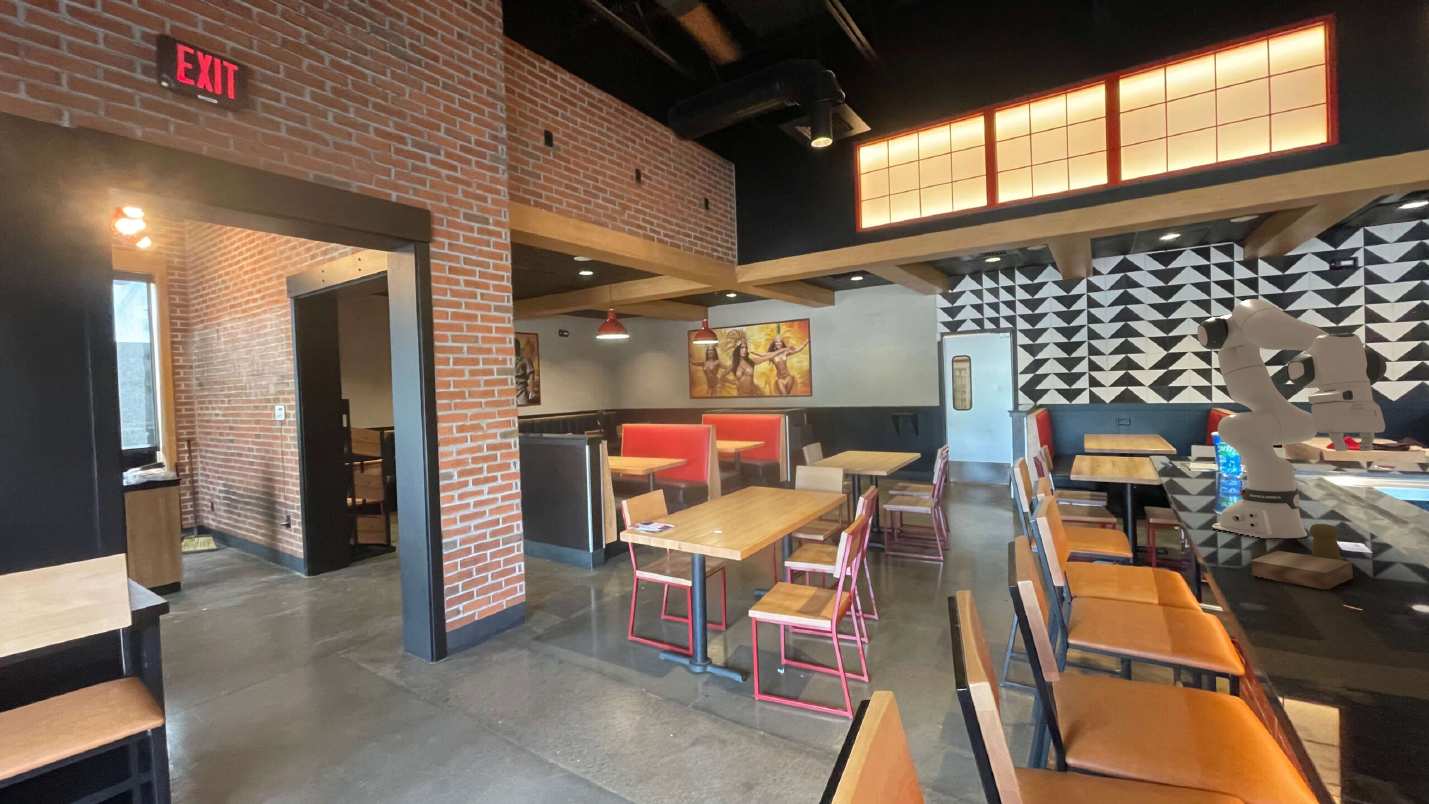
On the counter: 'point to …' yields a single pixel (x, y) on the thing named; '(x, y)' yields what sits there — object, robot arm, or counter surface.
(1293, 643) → the counter surface
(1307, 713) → the counter surface
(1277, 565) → the walnut riser block
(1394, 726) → the counter surface
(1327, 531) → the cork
